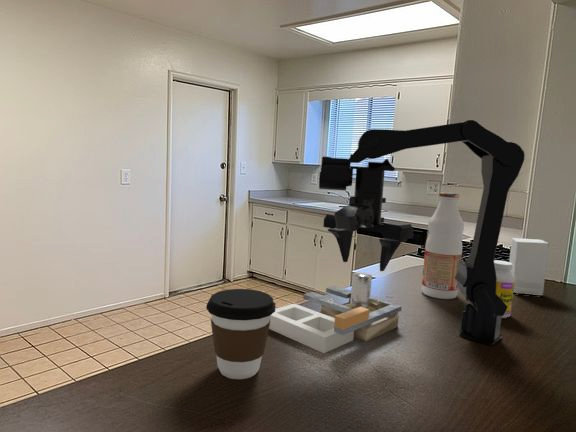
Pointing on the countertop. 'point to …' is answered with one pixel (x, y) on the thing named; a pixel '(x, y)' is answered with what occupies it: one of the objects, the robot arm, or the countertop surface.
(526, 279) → the skincare box
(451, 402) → the countertop surface
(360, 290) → the flanged silver cylinder
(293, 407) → the countertop surface
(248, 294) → the coffee cup
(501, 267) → the supplement bottle
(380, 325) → the socket block
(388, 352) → the countertop surface
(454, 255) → the fruit juice
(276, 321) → the white hollow block
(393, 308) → the key plate
